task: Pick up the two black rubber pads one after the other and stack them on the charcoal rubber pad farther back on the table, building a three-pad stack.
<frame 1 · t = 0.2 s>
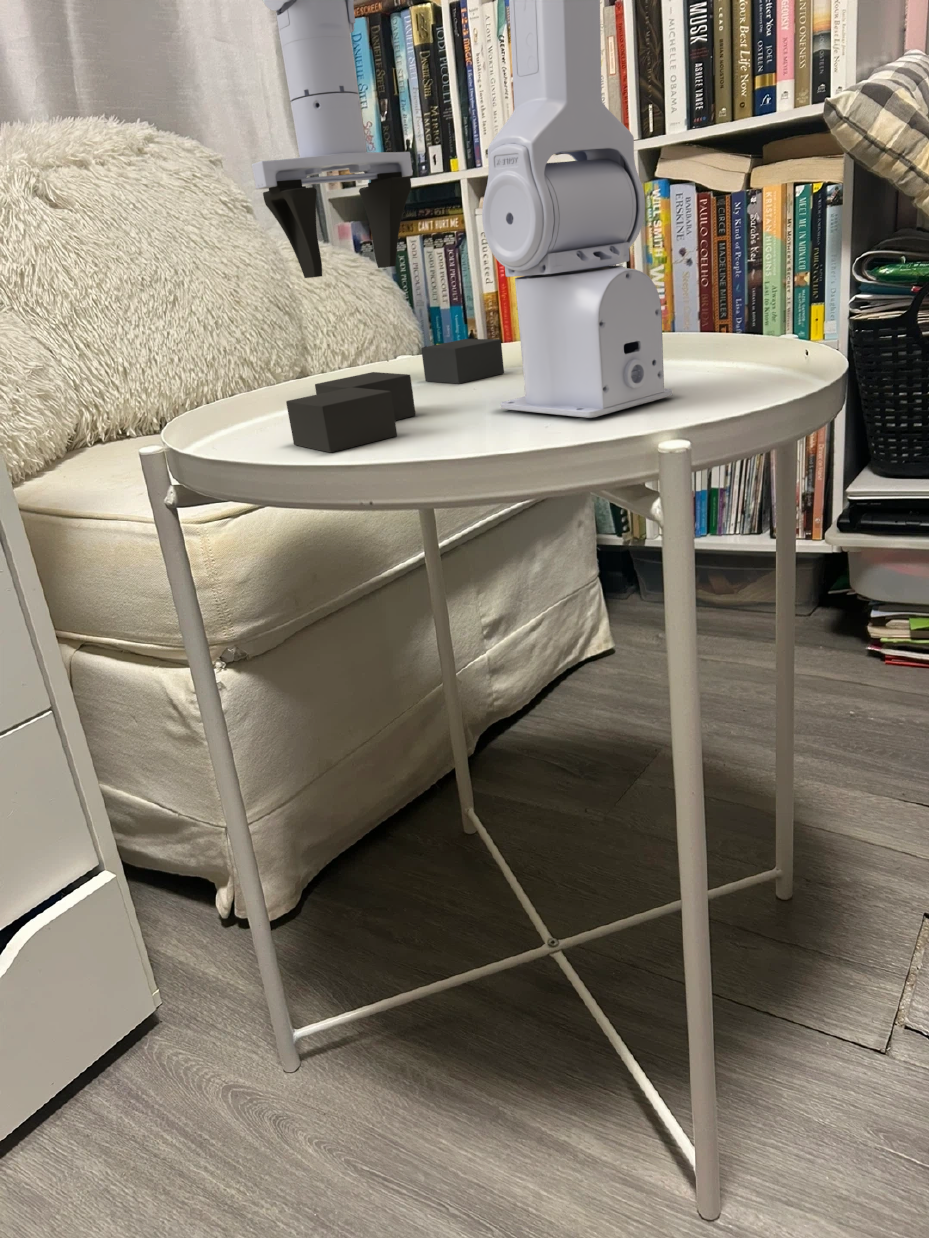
hand: (351, 272, 83), 10 cm above the table, tool pointing down, fingers open, 7 cm apart
pad middle: (345, 440, 64), on the table
pad base: (464, 377, 85), on the table
pad top: (368, 420, 70), on the table
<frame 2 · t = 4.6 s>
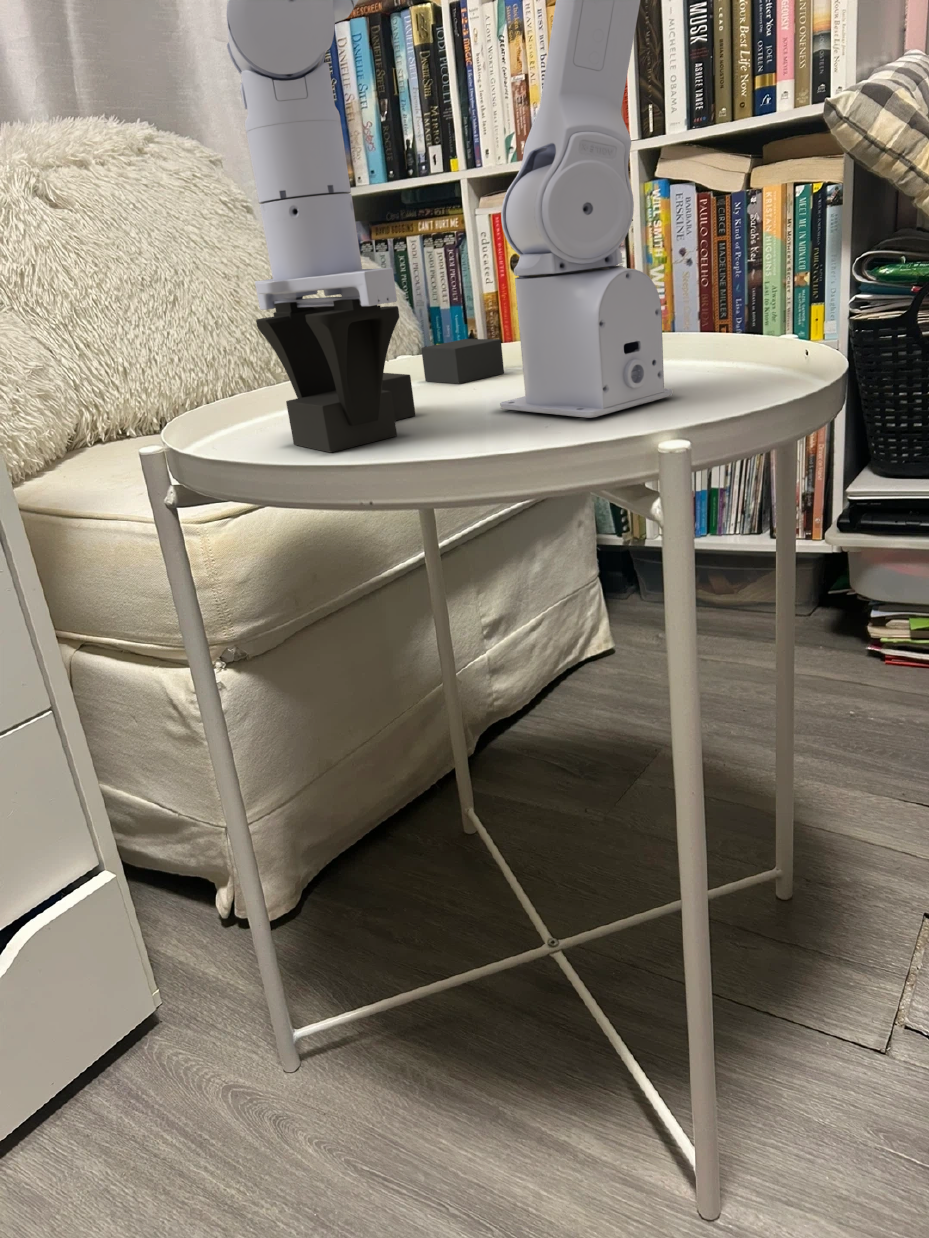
hand: (341, 419, 63), 1 cm above the table, tool pointing down, fingers closed on pad middle, 5 cm apart
pad middle: (345, 440, 64), on the table, touching gripper
everything else where it was.
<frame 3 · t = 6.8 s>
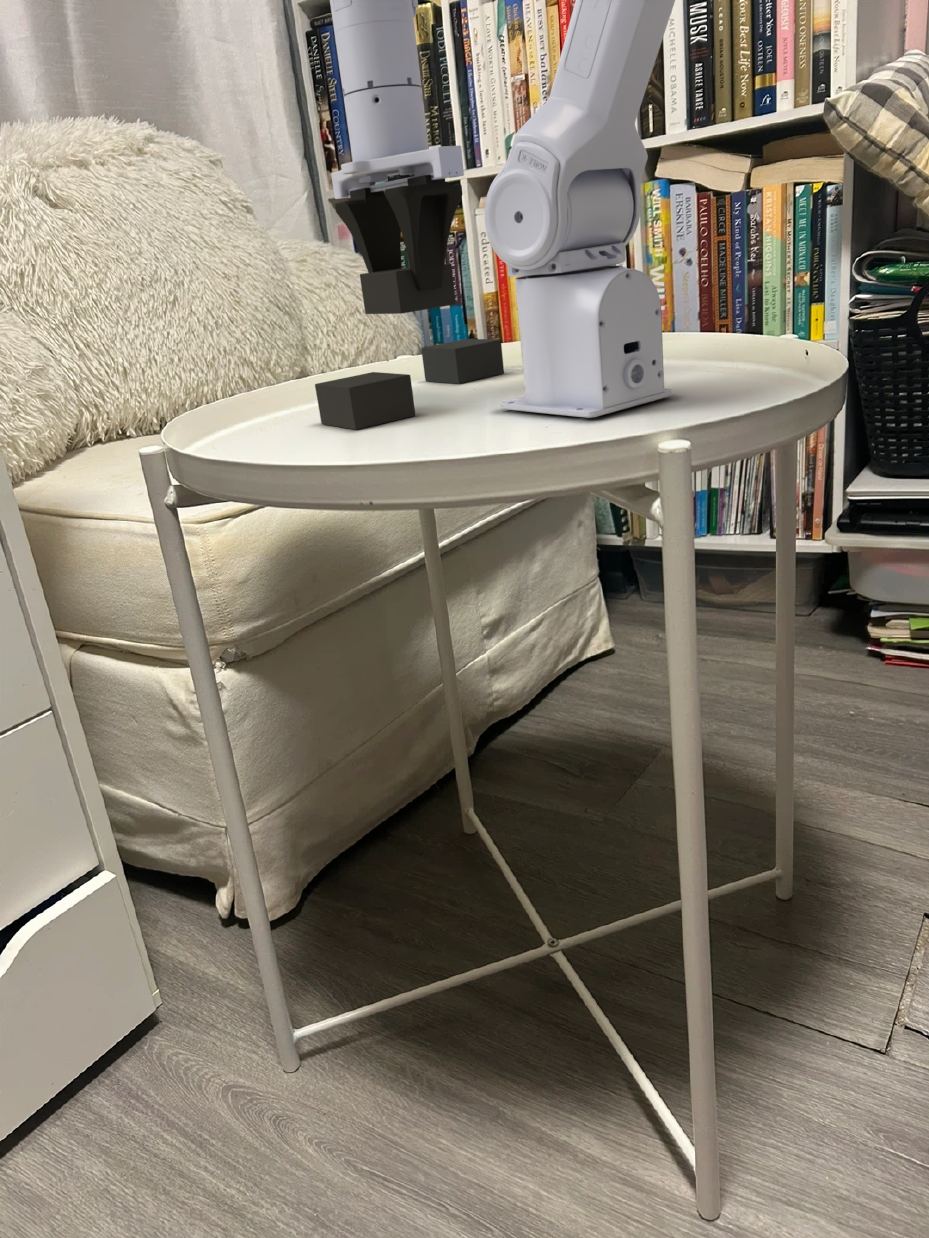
hand: (408, 290, 73), 8 cm above the table, tool pointing down, fingers closed on pad middle, 5 cm apart
pad middle: (410, 309, 74), point 7 cm above the table, touching gripper
everything else where it was.
when the fingers open (4 cm above the table, at t = 9.1 s): pad middle stays where it is, resting on pad base.
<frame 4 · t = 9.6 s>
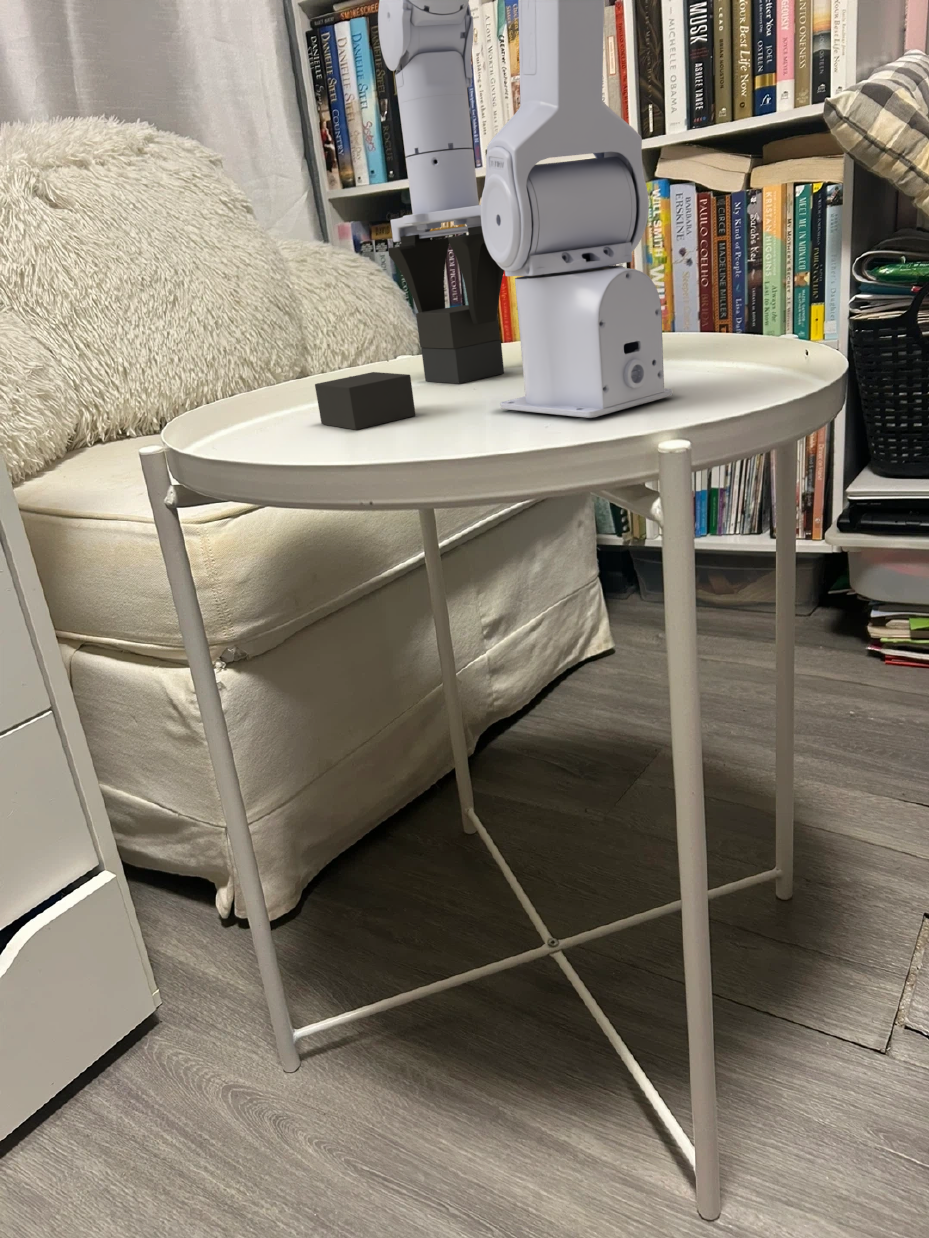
hand: (458, 323, 84), 5 cm above the table, tool pointing down, fingers open, 7 cm apart
pad middle: (459, 343, 84), point 3 cm above the table, touching pad base
pad base: (464, 377, 85), on the table, touching pad middle
everything else where it was.
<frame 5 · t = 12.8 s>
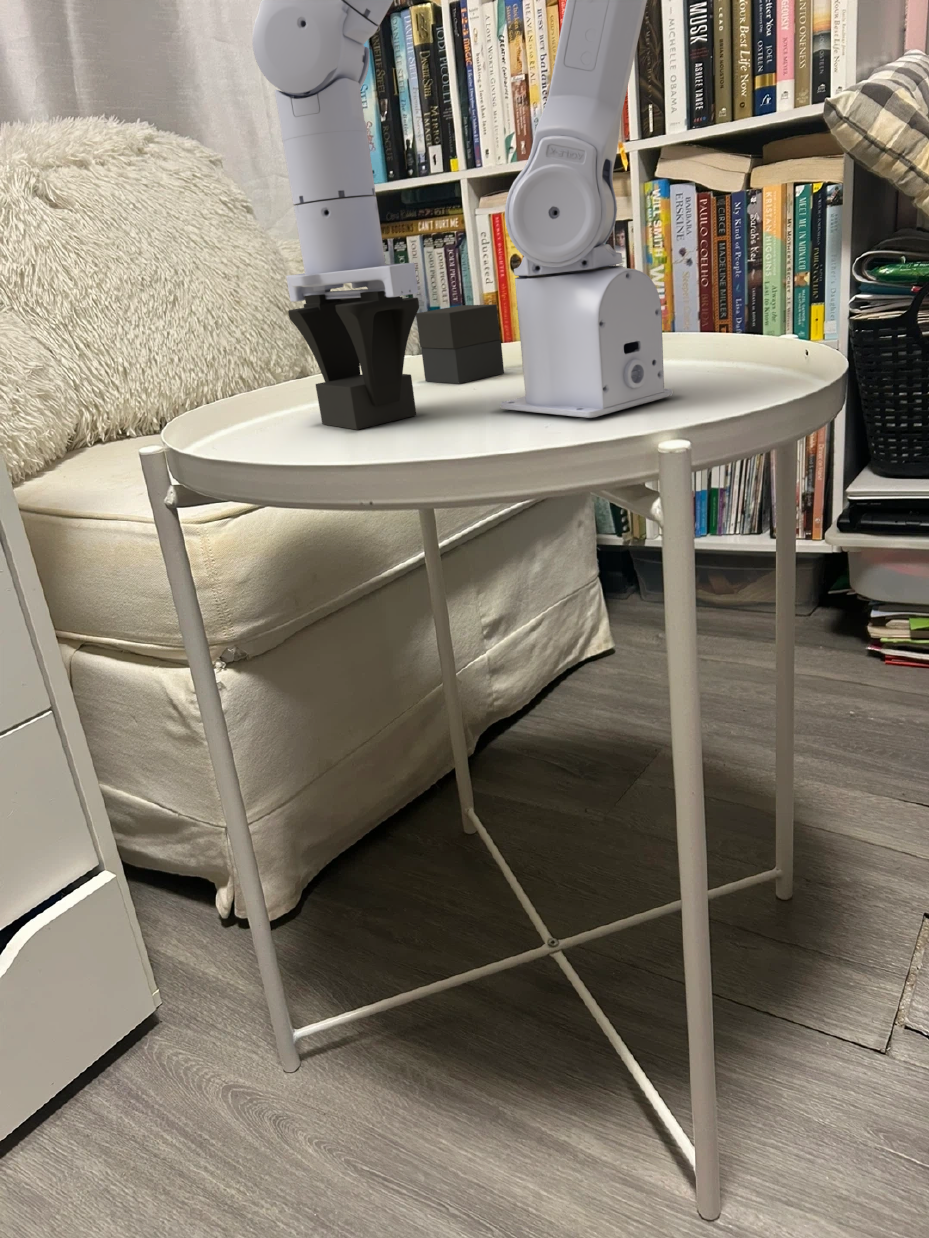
hand: (365, 401, 70), 1 cm above the table, tool pointing down, fingers closed on pad top, 5 cm apart
pad top: (369, 420, 70), on the table, touching gripper
everything else where it was.
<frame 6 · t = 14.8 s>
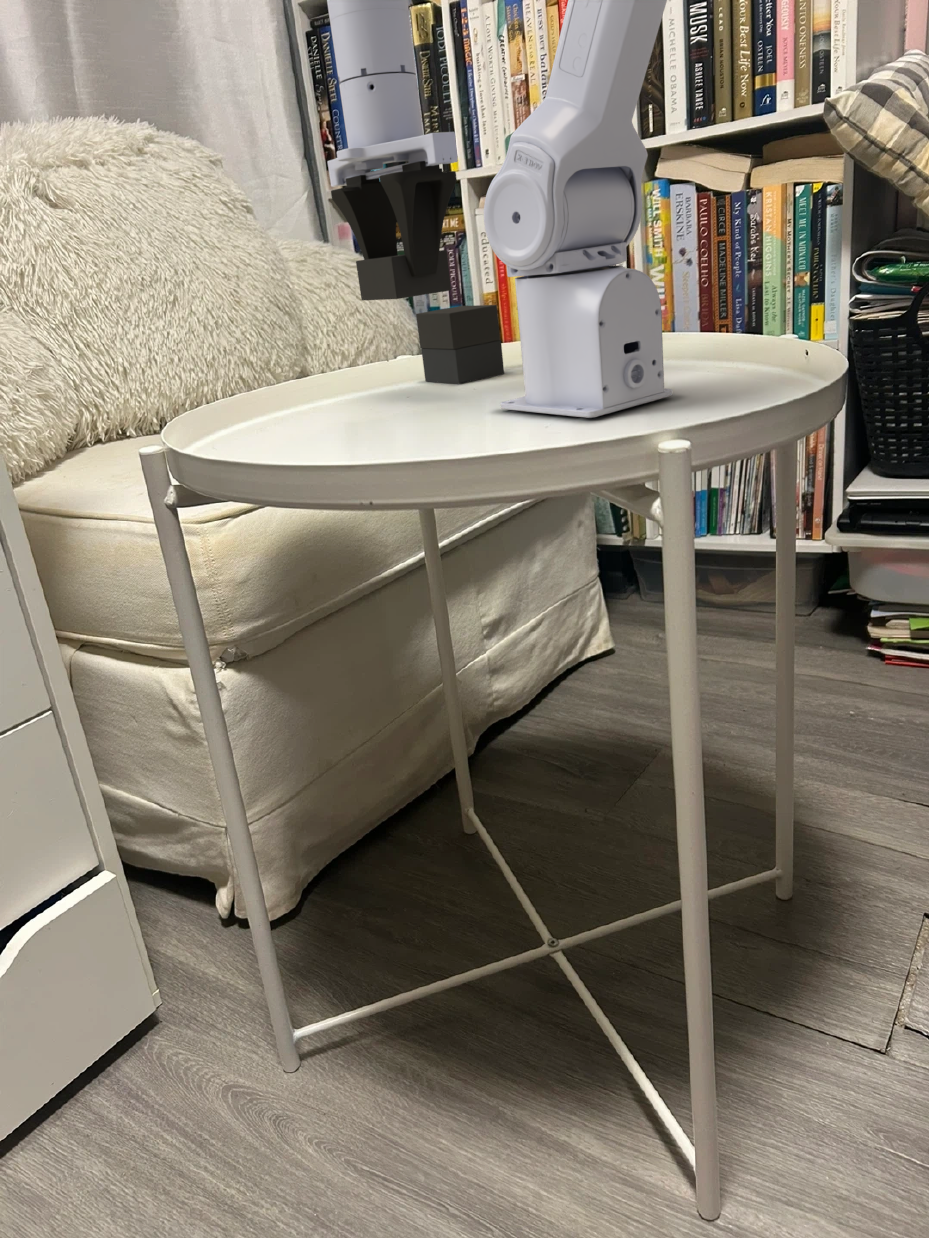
hand: (403, 276, 74), 9 cm above the table, tool pointing down, fingers closed on pad top, 5 cm apart
pad top: (406, 295, 75), point 8 cm above the table, touching gripper
everything else where it was.
when the fingers open (7 cm above the table, at t = 16.8 s): pad top stays where it is, resting on pad middle.
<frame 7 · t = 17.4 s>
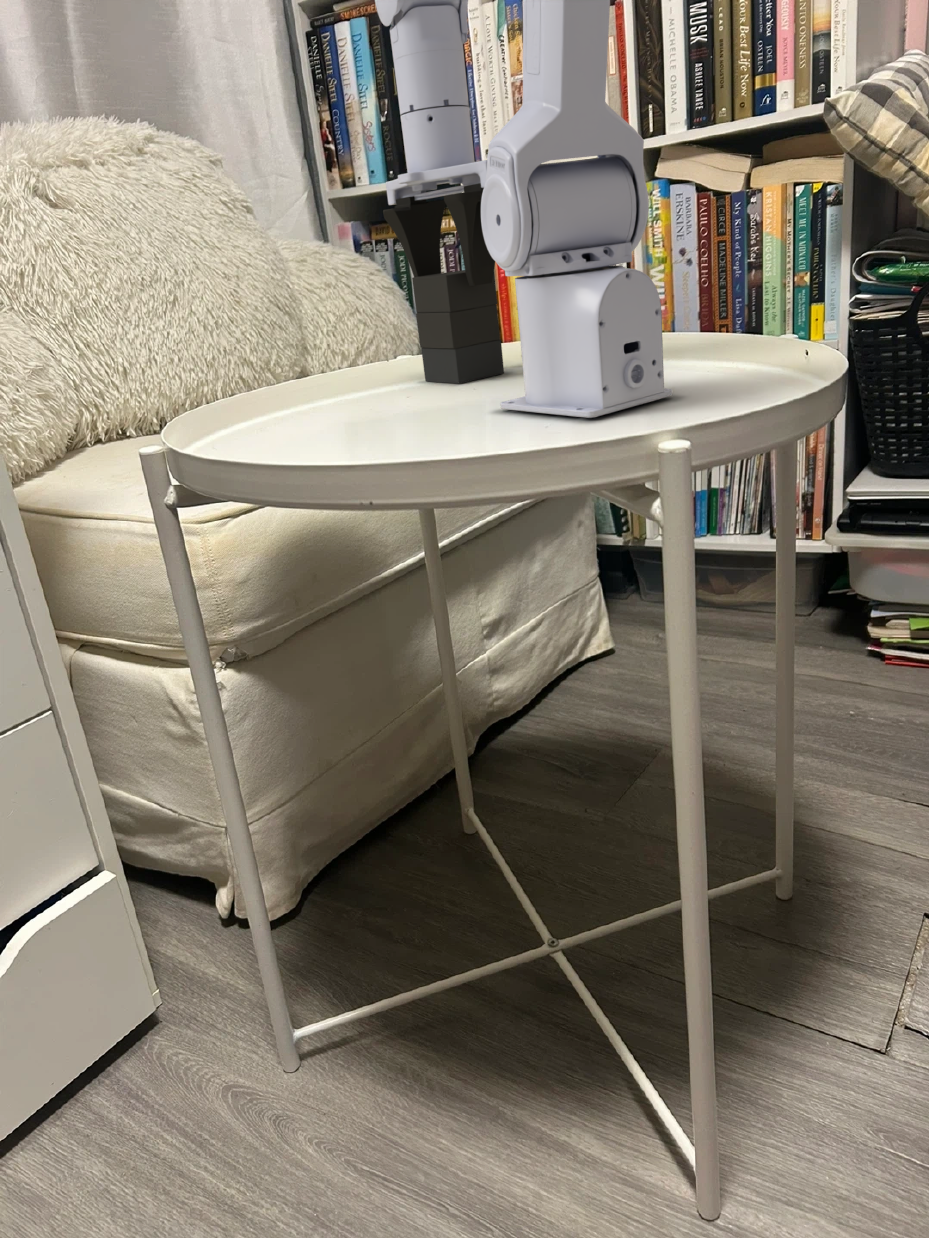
hand: (454, 286, 82), 8 cm above the table, tool pointing down, fingers open, 7 cm apart
pad middle: (459, 343, 84), point 3 cm above the table, touching pad base, pad top
pad top: (456, 308, 83), point 6 cm above the table, touching pad middle
everything else where it was.
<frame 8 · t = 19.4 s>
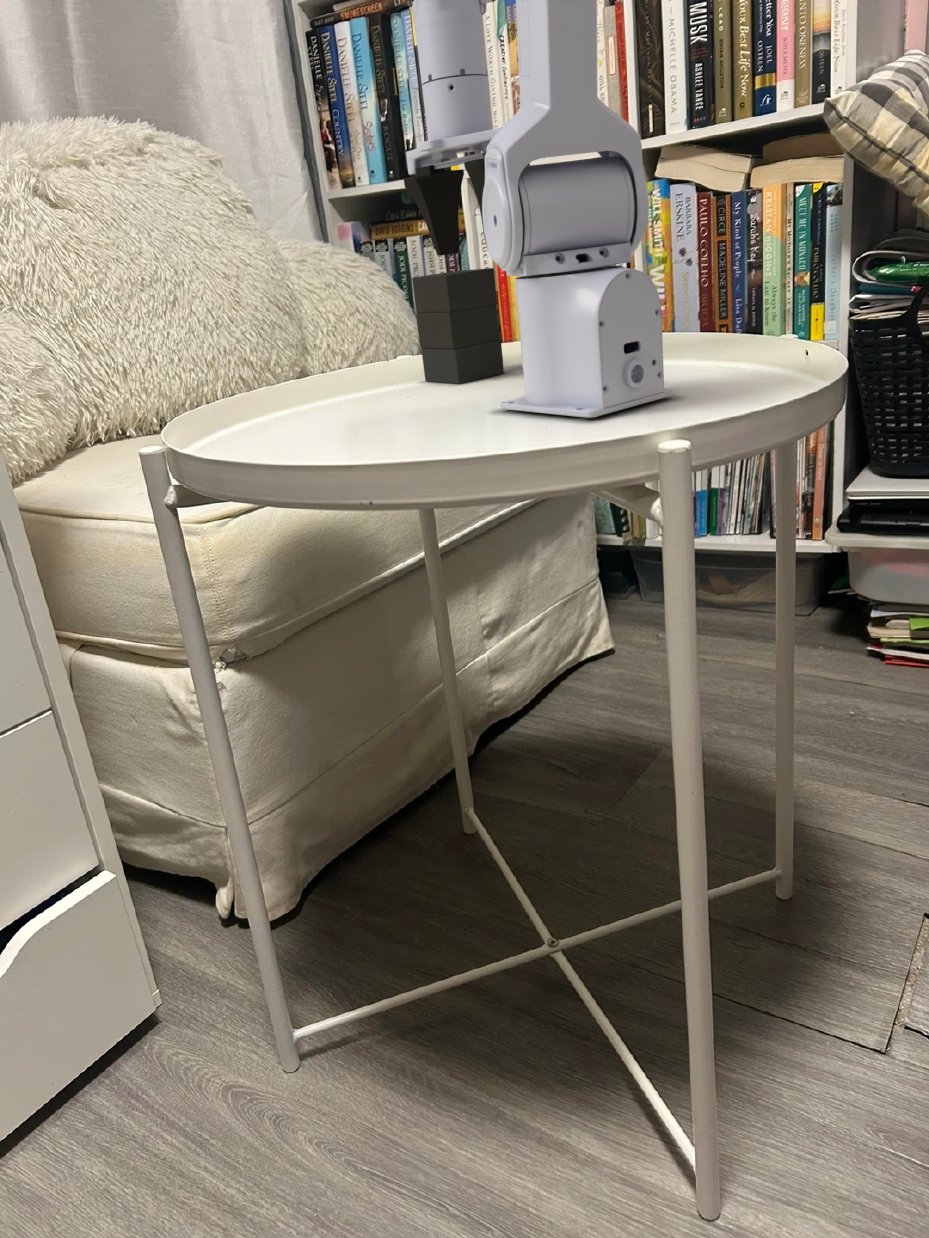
hand: (472, 252, 85), 10 cm above the table, tool pointing down, fingers open, 7 cm apart
nothing on the table moved.
at the end: pad middle 0.1 cm off-centre on the pad base, point 3.0 cm above the pad base's base; pad top 0.0 cm off-centre on the pad base, point 6.0 cm above the pad base's base; pad top tilted 0° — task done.
